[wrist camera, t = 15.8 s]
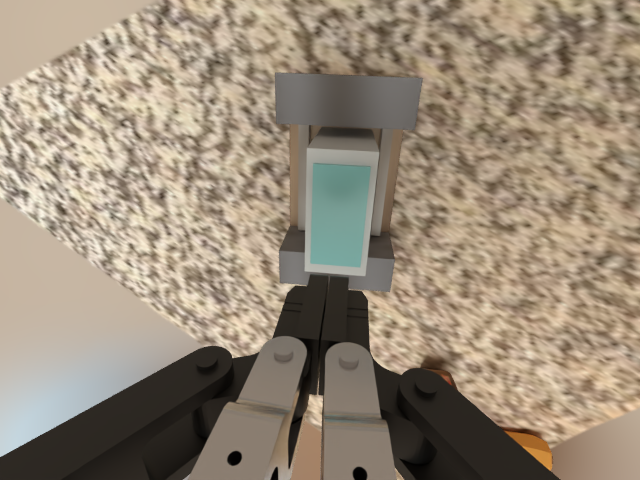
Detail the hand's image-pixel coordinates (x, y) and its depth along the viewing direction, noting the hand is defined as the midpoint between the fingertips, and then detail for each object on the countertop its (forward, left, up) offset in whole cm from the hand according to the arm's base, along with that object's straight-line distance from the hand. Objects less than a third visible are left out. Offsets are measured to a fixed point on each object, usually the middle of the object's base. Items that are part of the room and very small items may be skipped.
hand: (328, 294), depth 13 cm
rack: (0, 0, -19) cm, 19 cm away
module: (0, 0, -17) cm, 17 cm away
